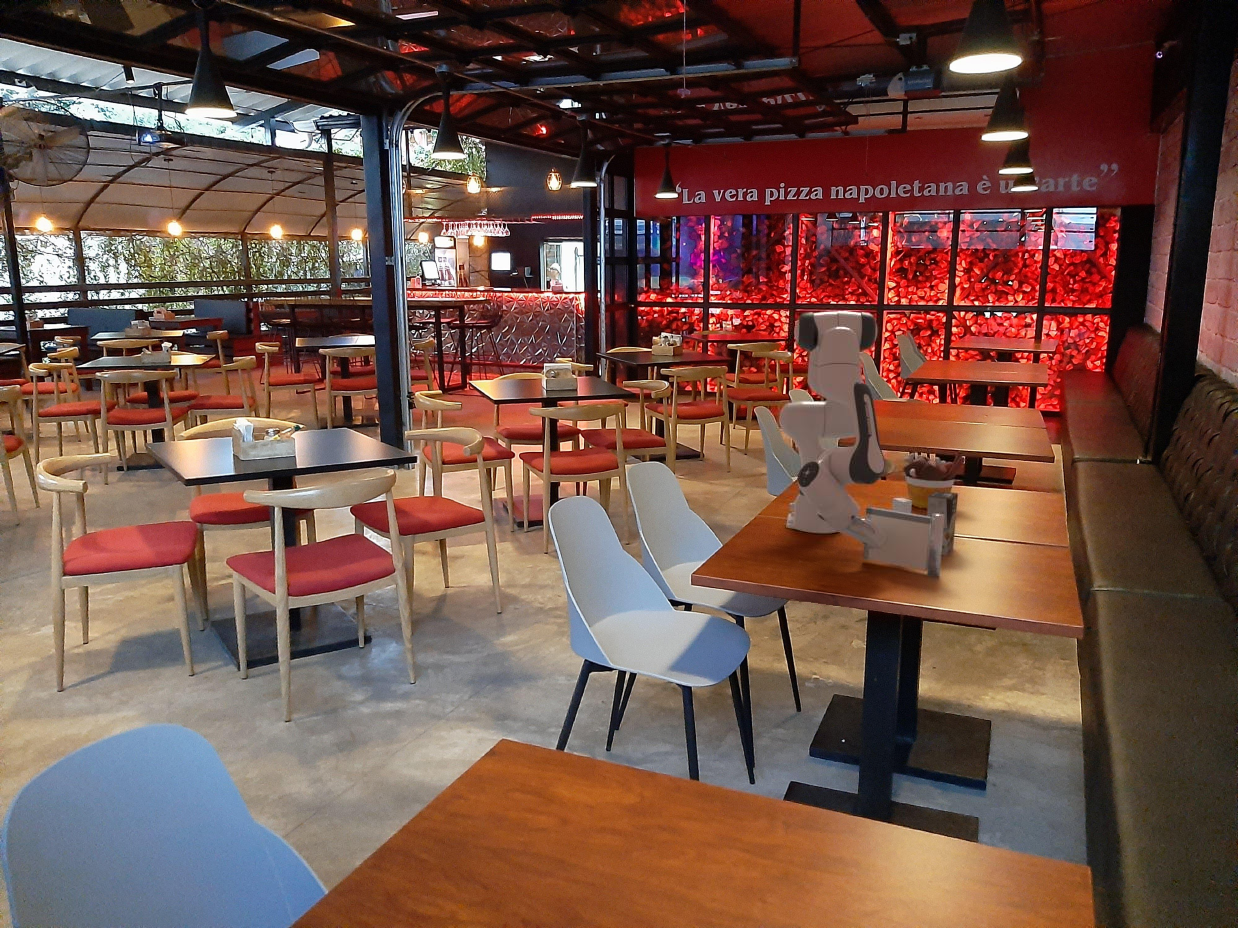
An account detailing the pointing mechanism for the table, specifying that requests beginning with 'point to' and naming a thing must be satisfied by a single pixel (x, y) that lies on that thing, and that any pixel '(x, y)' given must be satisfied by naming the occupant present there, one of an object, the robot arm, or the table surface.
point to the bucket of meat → (929, 476)
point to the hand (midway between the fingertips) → (870, 545)
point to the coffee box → (947, 507)
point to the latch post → (902, 505)
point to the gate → (900, 538)
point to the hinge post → (935, 545)
